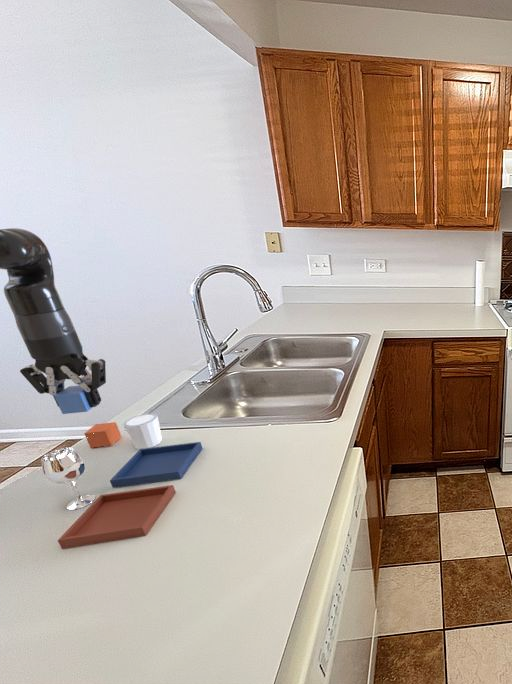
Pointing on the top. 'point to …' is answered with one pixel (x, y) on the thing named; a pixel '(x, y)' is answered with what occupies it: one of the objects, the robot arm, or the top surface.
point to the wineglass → (66, 473)
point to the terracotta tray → (118, 516)
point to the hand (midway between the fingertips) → (81, 406)
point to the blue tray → (157, 464)
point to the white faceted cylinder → (144, 430)
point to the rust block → (103, 434)
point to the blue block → (72, 400)
